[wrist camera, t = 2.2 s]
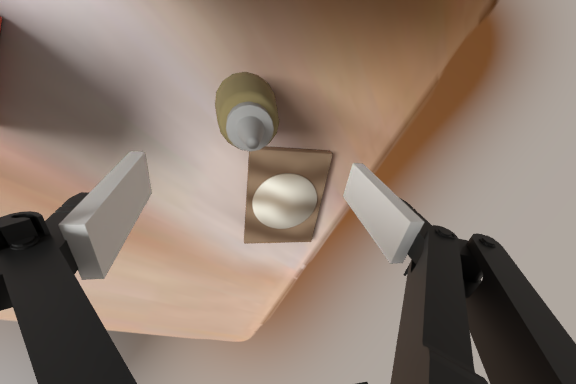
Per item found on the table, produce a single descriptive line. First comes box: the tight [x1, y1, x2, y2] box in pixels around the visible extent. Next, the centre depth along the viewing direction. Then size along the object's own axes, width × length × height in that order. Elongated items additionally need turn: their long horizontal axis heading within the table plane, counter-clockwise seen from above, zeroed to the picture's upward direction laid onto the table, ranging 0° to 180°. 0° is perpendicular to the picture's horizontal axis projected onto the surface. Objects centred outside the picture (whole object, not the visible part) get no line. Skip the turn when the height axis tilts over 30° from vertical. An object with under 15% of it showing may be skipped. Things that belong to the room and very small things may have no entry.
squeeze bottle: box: [215, 72, 279, 152], centre depth 28 cm, size 8×8×18 cm
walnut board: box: [244, 146, 333, 243], centre depth 45 cm, size 20×14×2 cm
